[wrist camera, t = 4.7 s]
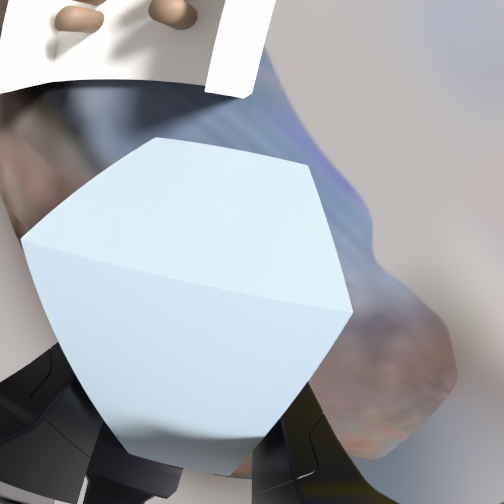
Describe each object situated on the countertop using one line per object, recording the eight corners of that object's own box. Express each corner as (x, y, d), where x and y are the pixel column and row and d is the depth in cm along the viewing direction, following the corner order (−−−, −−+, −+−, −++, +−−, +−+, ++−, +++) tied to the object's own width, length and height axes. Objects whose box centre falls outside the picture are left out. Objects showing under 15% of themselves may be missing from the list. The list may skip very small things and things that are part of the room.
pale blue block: (240, 376, 13) (229, 475, 9) (157, 358, 12) (129, 453, 8) (307, 165, 7) (352, 311, 3) (155, 137, 7) (20, 239, 3)
